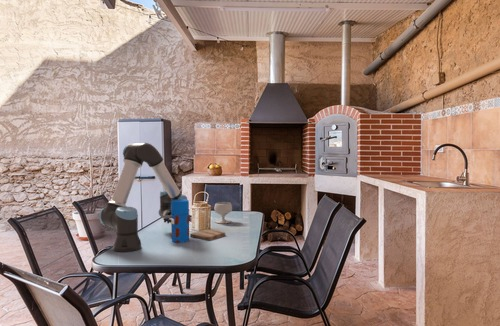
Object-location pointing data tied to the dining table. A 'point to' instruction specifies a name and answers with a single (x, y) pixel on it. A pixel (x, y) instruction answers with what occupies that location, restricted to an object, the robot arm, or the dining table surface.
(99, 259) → the dining table surface
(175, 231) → the blue tower block
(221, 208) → the chalice
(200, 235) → the walnut board
